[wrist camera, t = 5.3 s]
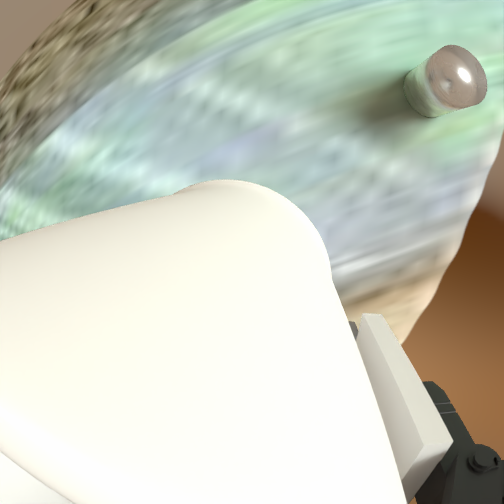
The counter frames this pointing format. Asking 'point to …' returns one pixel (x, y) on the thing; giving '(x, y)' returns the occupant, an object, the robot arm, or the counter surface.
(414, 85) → the spice tin
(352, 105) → the counter surface
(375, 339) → the robot arm
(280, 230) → the mug
